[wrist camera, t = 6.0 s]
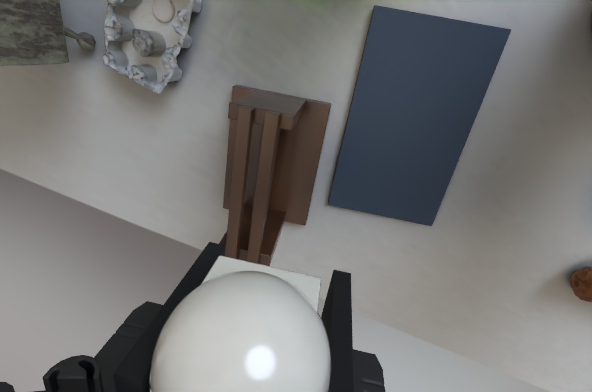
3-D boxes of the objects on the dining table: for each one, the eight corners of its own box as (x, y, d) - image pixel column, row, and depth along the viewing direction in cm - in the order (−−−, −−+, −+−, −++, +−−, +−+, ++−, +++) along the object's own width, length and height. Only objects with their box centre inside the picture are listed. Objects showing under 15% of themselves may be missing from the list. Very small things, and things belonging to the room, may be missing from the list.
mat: (508, 30, 28) (511, 29, 28) (430, 223, 36) (431, 226, 36) (374, 6, 29) (374, 5, 28) (327, 202, 37) (327, 204, 36)
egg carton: (141, -52, 29) (112, -68, 25) (214, -7, 30) (197, -17, 26) (112, 59, 33) (84, 59, 30) (177, 95, 34) (157, 100, 30)
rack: (330, 103, 32) (327, 124, 23) (306, 220, 38) (294, 279, 28) (236, 84, 33) (191, 97, 23) (226, 204, 39) (186, 255, 29)
